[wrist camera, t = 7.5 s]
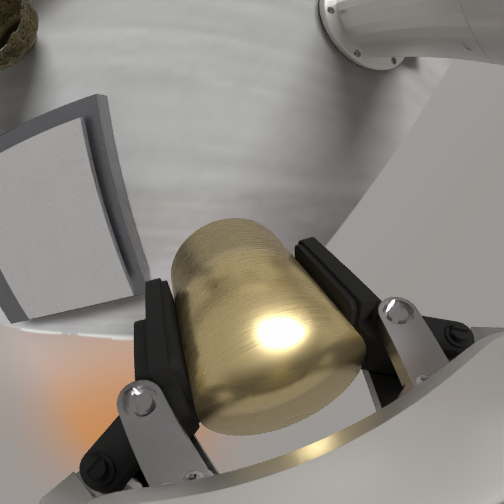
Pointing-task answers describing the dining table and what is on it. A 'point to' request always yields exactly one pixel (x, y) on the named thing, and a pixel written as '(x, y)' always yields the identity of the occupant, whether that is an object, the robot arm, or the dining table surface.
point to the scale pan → (57, 225)
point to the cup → (16, 30)
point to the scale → (109, 184)
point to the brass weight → (257, 331)
